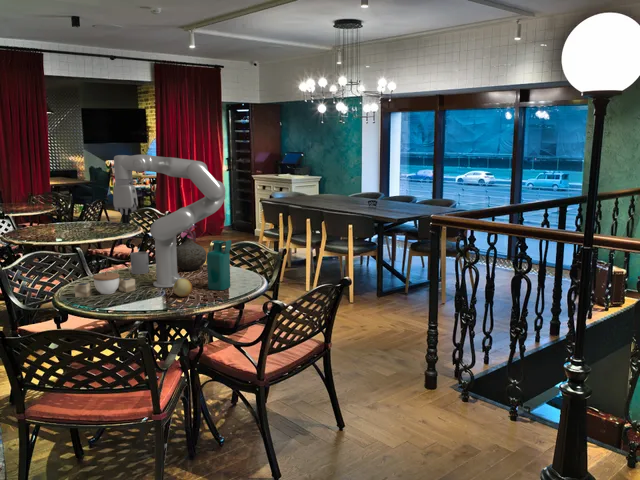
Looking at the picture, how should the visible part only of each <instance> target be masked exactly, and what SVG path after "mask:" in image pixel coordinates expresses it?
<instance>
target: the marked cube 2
mask: <svg viewBox="0 0 640 480" xmlns="http://www.w3.org/2000/svg"><path fill="white" fill-rule="evenodd" d="M118 291H119V292H123V291H124V293H128V292H132V291H136V279H135V278H132V277H131V278H130V277H126V278H121V279H120V278H119V286H118Z"/></svg>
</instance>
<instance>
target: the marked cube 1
mask: <svg viewBox="0 0 640 480" xmlns="http://www.w3.org/2000/svg"><path fill="white" fill-rule="evenodd" d="M92 293H93V291H92V283H91V282H79V283H77V284H75V285H74V294H75V295H74V296H75V298H87V297H89V296H91V295H92Z"/></svg>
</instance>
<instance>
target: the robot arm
mask: <svg viewBox="0 0 640 480" xmlns="http://www.w3.org/2000/svg"><path fill="white" fill-rule="evenodd" d="M113 168H114V169H113V170H114V186H113V191H112V192H113V193H112V194H113V195H112V196H113V197H112V199H113V200H112V201H113V202H112V203H113V207H114V211H118V212H119V213H120V215H121V219H122V224H124V225H126V224H130V223H131V214H132V212H135V211H137V210H138V209H137V207H138V204H139V201H138V195H137V190H136V189H137V188H136V186H135V185H134V184H136V181H135V180H134V179H133V172H138V173H140V172H151V173H158V174H164V175H166V176H168V177H172V178H181V179H188V180H189V179H190V181H191V182H192V183H193V185H194V186H195V187H196V188H197V189H198V190H199V191H200V192H201V193H202V194H203V195H204V197H202V198H200V199H199V200H197V201H195V202H193V203H190V204H189V205H185V206H183V207H180V208H179V209H177V210H176V211H173V212H172V213H169V214H167V215H165V216H162V217H159V218H157V219H156V220H155V221H154V222H153V223H152V224H151V225H150V228H149V229H150V230H149V231H150V235H151V237H153V239H154V253H155V254H154V255H155V270H156V271H155V272H156V280H155V281H153V283H152V284H153V285H152V286H153V287H156V288H173V286H174V284H175V282H176V281H177V280H178V279H186V278H185V277H183V276H180V274H179V273H178V266H177V236H178V235H180V234H181V233H183V231H185V230H187V229H189V228H190V227H192V226H193V225H195V224H196V223H198V222H200V221H202V220H205V219H206V218H208V217H209V216H211V215H213V214H215V213H216V212H217V211H219V210H220V209H221V207H222V205H223V204H224V202H225V199H226V187H225V185H224V183H223V182H221V181H220V180H217V179H216V178H215V177H214V175H212V174H211V173H210V172H209V170H208V165H207V164H206V163H205V162H203V161H201V160H195V159H186V158H179V157H173V156H172V157H171V156H169V157H167V156H166V157H165V156H157V155H152V154H151V155H149V154H142V153H141V154H134V155H126V154H118V155H115V156H114V157H113Z"/></svg>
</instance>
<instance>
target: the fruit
mask: <svg viewBox="0 0 640 480" xmlns="http://www.w3.org/2000/svg"><path fill="white" fill-rule="evenodd" d="M172 291H173V293H174V294H175V295H176V296H178V297H180V298H181V297H182V298H184V297H188V296H190V295H191V294H192V292H193V284H192V282H191V281H190V280H188V279H187V278H185V279H178V280H177V281H176V282H175V284H174V286H173V287H172Z"/></svg>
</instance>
